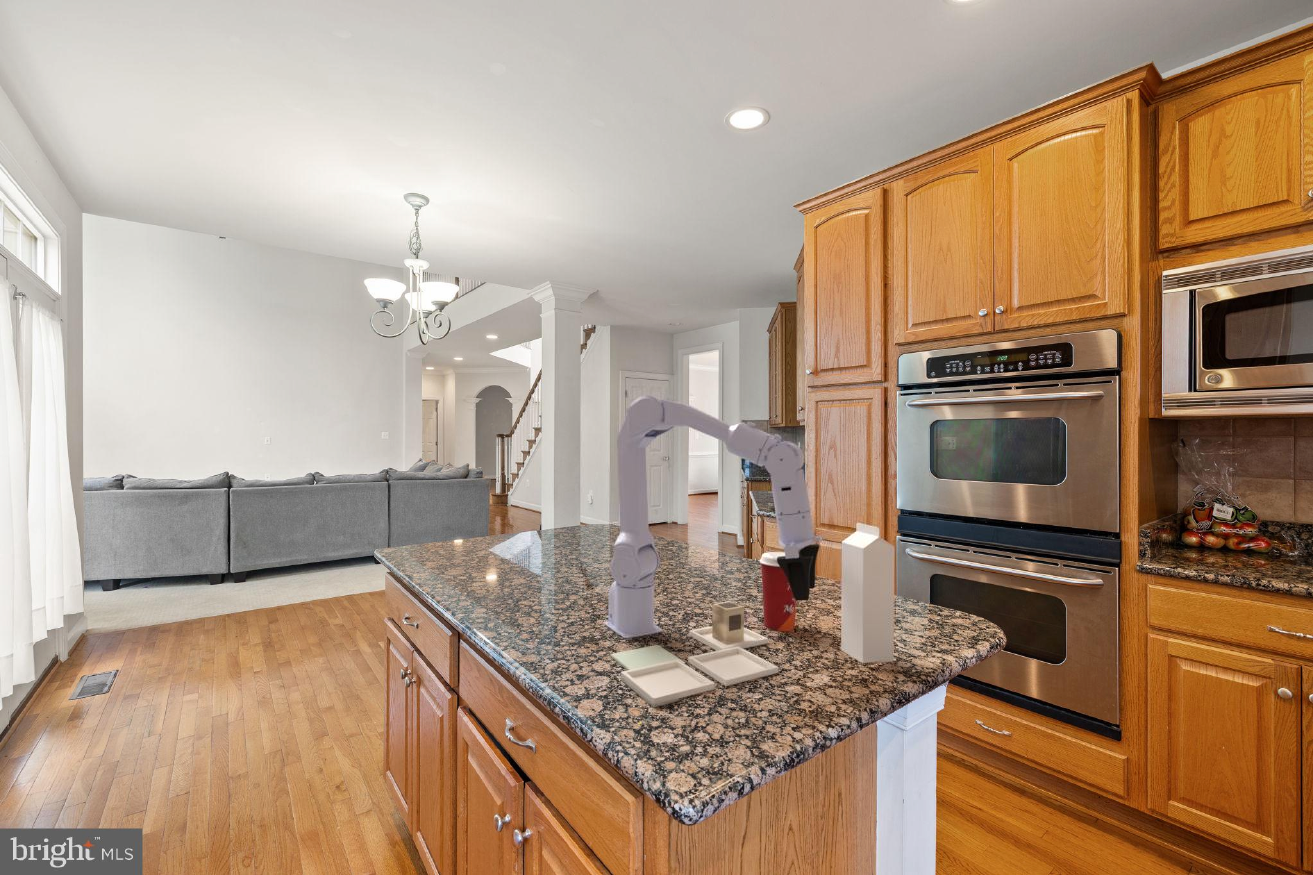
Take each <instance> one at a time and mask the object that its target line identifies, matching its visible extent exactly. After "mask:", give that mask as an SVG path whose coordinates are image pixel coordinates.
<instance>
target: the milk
mask: <svg viewBox="0 0 1313 875" xmlns="http://www.w3.org/2000/svg"><path fill="white" fill-rule="evenodd" d="M855 527H856V531H855V532H853V533H851V534H850V535H849V536H848V537H846V538H845V539H843V540H842V541H841V608H840V612H841V613H840V614H841V616H840V617H841V618H840V619H841V621H840V622H841V624H840V625H841V628H840V630H841V634H840V635H841V636H840V640H841V642H840V651H842V652H844V653H845V654H847V655H849V656H850V657H852V658H853V659H855V660H857V661H858V662H860V663H861V664H867V663H870V664H871V665H877V664H885V663H893V662H894V658H895V655H894V652H895V651H894V650H895V646H894V645H895V638H894V637H895V546H894V545H893V544H891V543H889V542H888V541H886V539H883V538H882V537H881V536H880V533H881V532H880V531H881V530H880V527H878V526H875V525H868V524H865V523H861V522H856V526H855Z"/></svg>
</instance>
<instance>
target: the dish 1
mask: <svg viewBox="0 0 1313 875" xmlns="http://www.w3.org/2000/svg"><path fill="white" fill-rule="evenodd" d="M620 681H622V682H623V683H624V684H625V685H627V687H629V689H631V690H632V691H634V692H635V693H636V694H637V695H638V696H639V697H640V698H642V699H643V700H644V701H645V702H647V703H648V704H649V705H650V706H651V707H652V708H656V707H661V706H665V705H669V704H673V703H676V702H680V701H682V700H681V699H682V698H687V697H690V696H693V695H697V694H701V693H705V692H709V691H712V690H713V691H714V690H715V682H714V681H712V680H710V679H709V678H708V677H706V676H704V675H703V674H701V673H700V672H698V671H697V670H694V668H692V667H690V666H688V665H687V664H686V663H683V662H681V661H679V660H678V659H677V660H673V661H668V662H664V663H659V664H654V665H650V666H645V667H641V668H636V669H631V670H627V669H626V670H624V671H620Z"/></svg>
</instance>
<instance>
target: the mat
mask: <svg viewBox="0 0 1313 875" xmlns="http://www.w3.org/2000/svg"><path fill="white" fill-rule="evenodd" d="M609 655H610V656H609V657H610V658H612V659H613V660H614V661H615V662H617V663H618V664H619V665H620V666H622V667H623V668H624V669H625V670H626V671H627V670H631V669H636V668H641V667H645V666H650V665H654V664H659V663H664V662H668V661H673V660H677V659H678V660H679V661H681V662H683V663H684V664H686V662H685V661H684V660H682V659H680V658H679V657H678V656H676V655H675V654H673V653H671V652H670V651H668V650H666V649H665V648H664V647H662V646H660V645H658V644H656V645H655V644H654V645H650V646H645V647H639V648H636V649H630V650H629V649H628V650H624V651H620V652H619V651H618V652H615V653H611V654H609Z"/></svg>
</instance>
